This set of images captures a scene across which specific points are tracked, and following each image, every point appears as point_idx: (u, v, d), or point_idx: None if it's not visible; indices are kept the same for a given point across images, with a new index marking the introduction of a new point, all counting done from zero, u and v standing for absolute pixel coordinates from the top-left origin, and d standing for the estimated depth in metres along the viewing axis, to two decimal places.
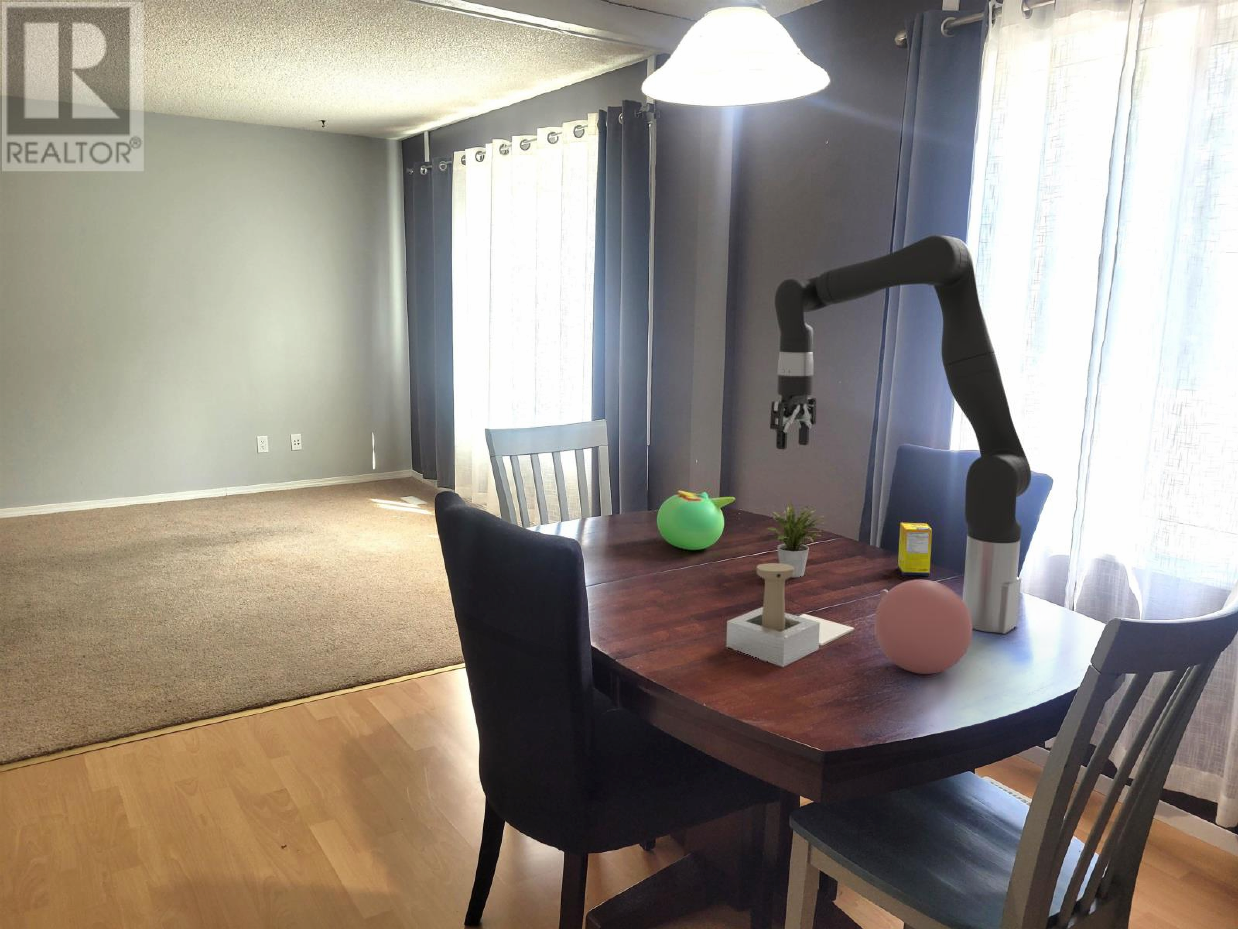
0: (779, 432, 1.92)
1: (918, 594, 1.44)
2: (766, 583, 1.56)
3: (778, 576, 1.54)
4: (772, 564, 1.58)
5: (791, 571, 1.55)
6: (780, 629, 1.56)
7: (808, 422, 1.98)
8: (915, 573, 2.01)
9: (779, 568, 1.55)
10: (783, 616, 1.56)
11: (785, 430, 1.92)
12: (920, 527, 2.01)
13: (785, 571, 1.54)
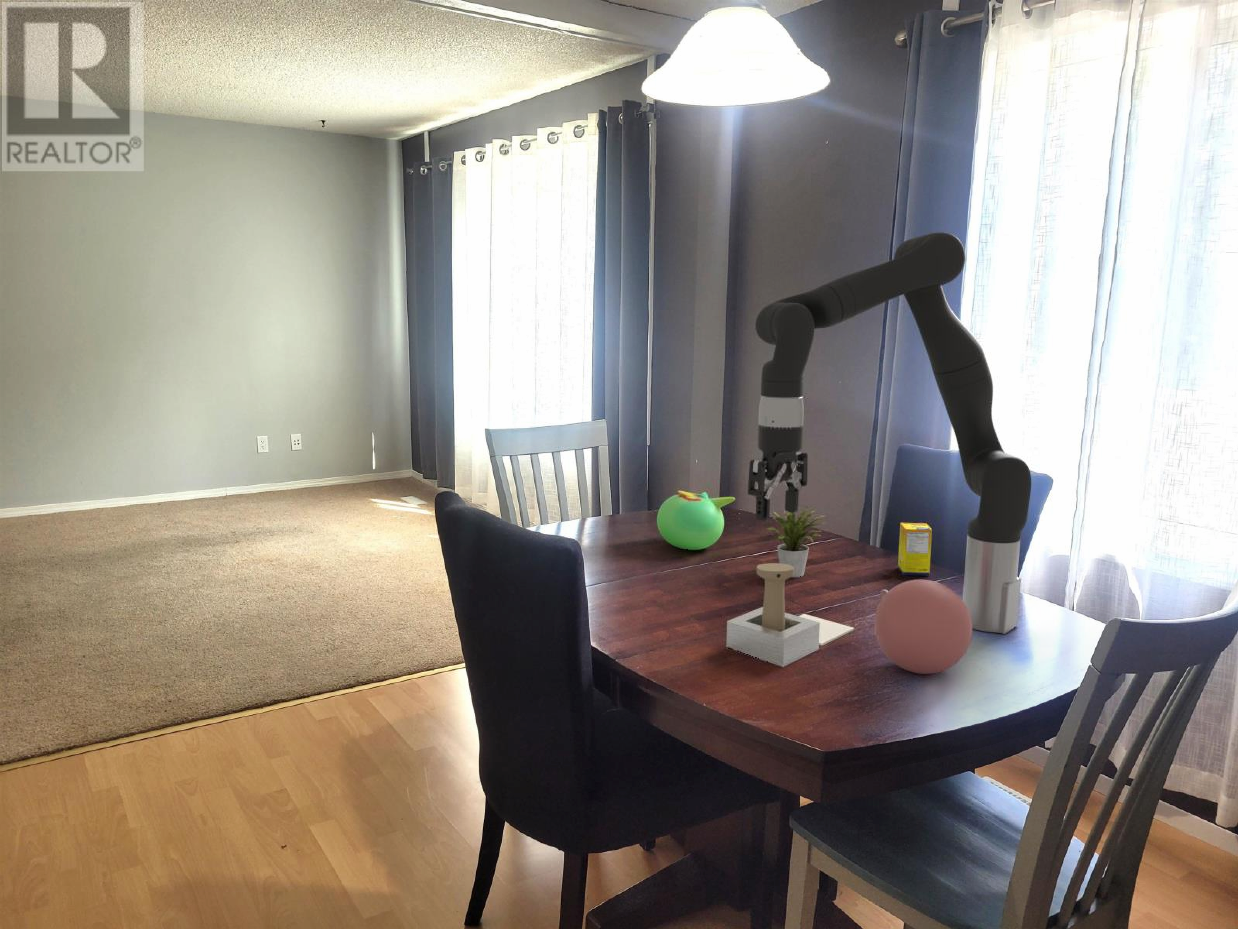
0: (760, 499, 1.50)
1: (918, 594, 1.44)
2: (766, 583, 1.56)
3: (778, 576, 1.54)
4: (772, 564, 1.58)
5: (791, 571, 1.55)
6: (780, 629, 1.56)
7: (797, 484, 1.56)
8: (915, 573, 2.01)
9: (779, 568, 1.55)
10: (783, 616, 1.56)
11: (767, 496, 1.49)
12: (920, 527, 2.01)
13: (785, 571, 1.54)
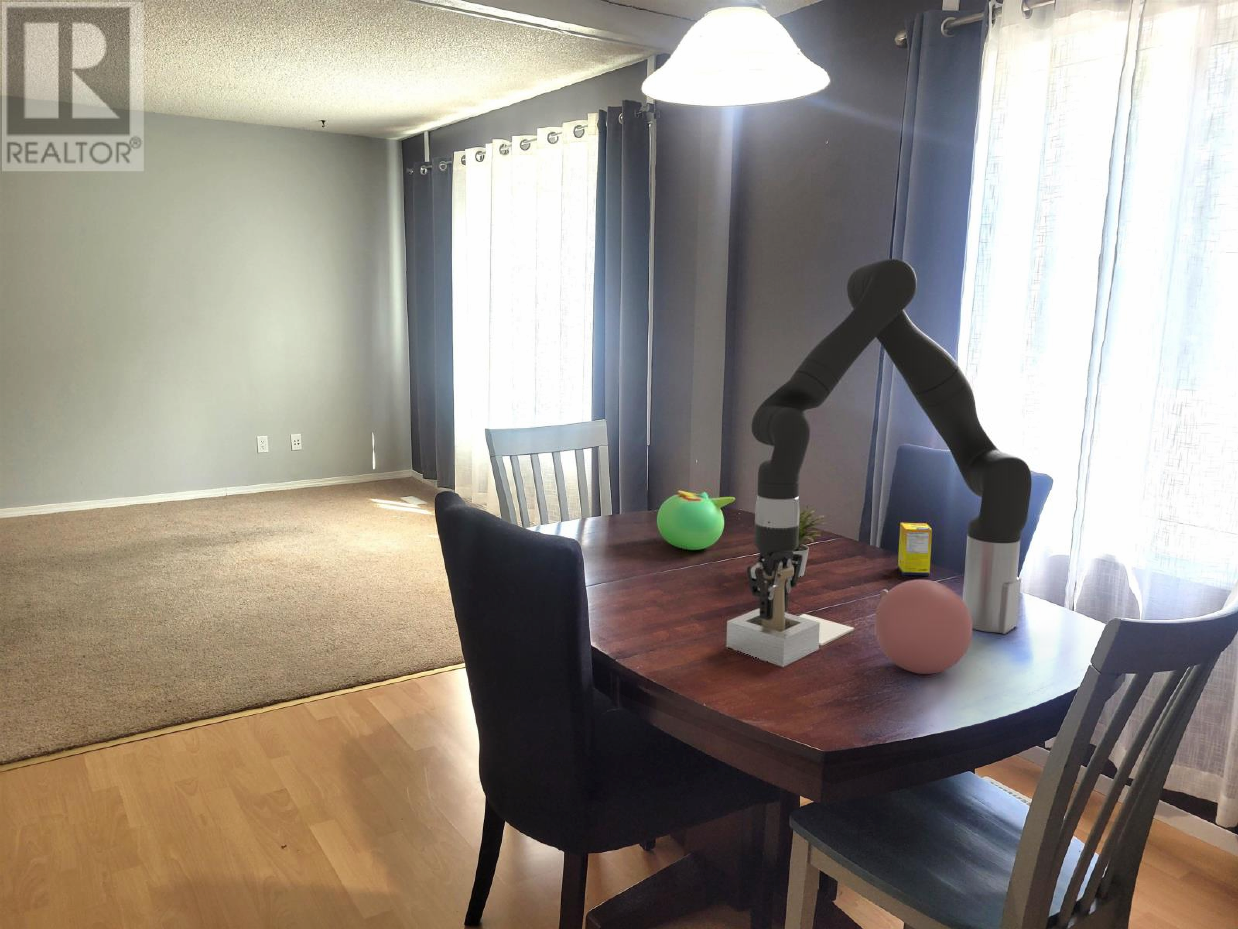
0: (763, 600, 1.55)
1: (918, 594, 1.44)
2: None
3: None
4: None
5: (791, 571, 1.55)
6: (780, 629, 1.56)
7: (786, 586, 1.57)
8: (915, 573, 2.01)
9: None
10: (783, 616, 1.56)
11: (770, 598, 1.54)
12: (920, 527, 2.01)
13: (785, 571, 1.54)
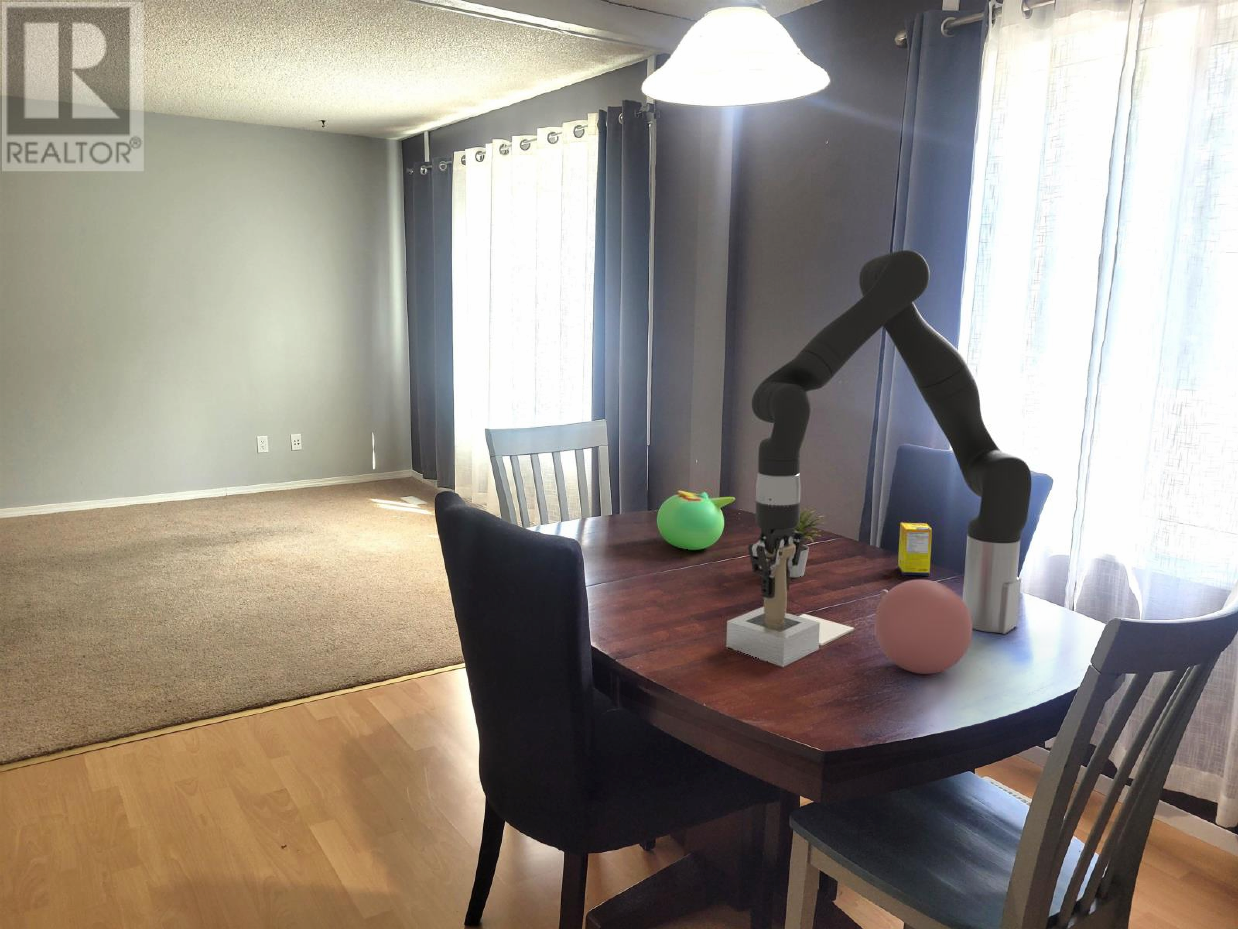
0: (765, 578, 1.54)
1: (917, 594, 1.44)
2: None
3: None
4: None
5: (793, 549, 1.54)
6: (782, 607, 1.56)
7: (788, 564, 1.57)
8: (915, 573, 2.01)
9: None
10: (785, 594, 1.56)
11: (772, 576, 1.53)
12: (920, 527, 2.01)
13: (787, 549, 1.53)
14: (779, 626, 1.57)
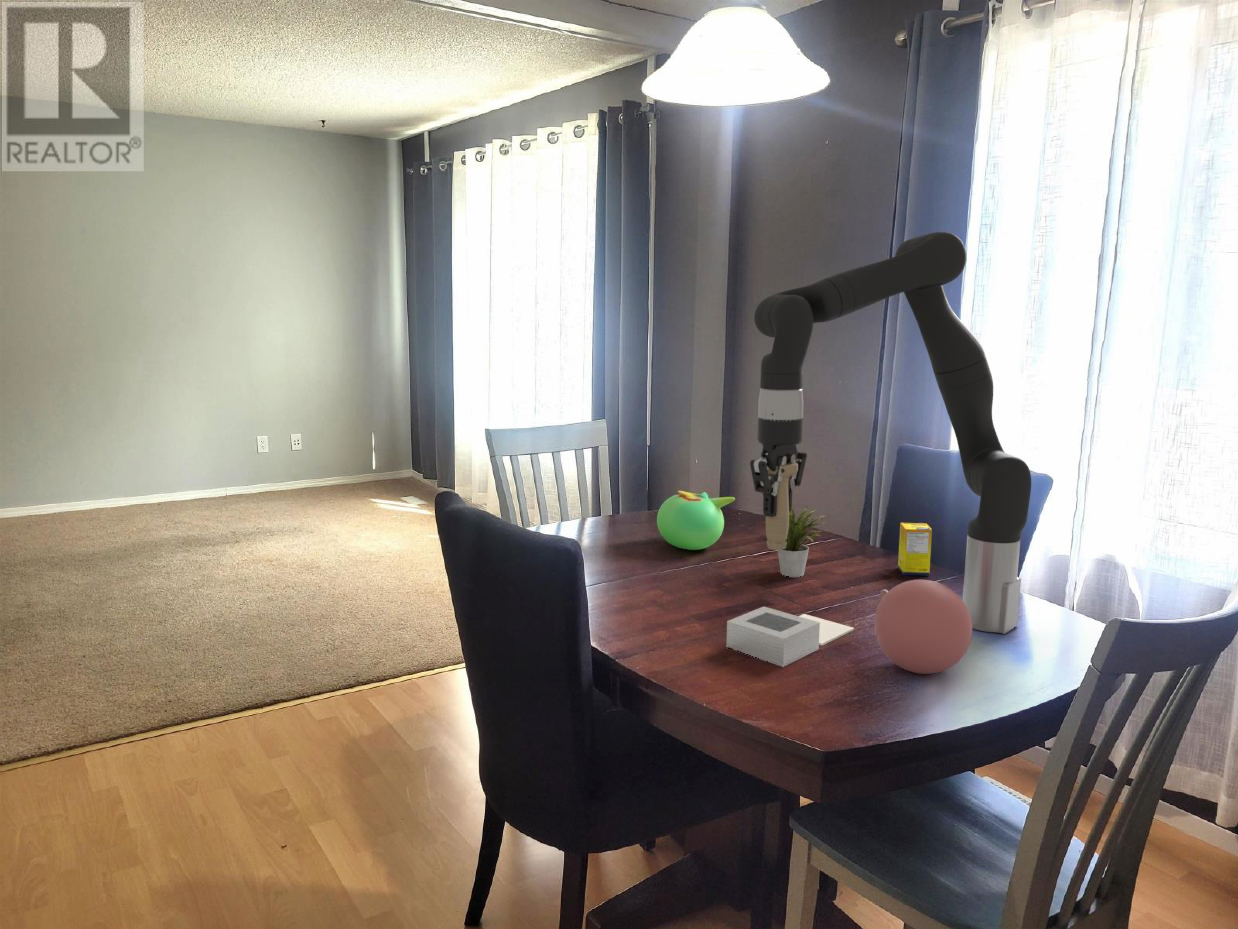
0: (767, 495, 1.51)
1: (918, 594, 1.44)
2: None
3: None
4: None
5: (795, 466, 1.51)
6: (784, 527, 1.53)
7: (790, 484, 1.54)
8: (915, 573, 2.01)
9: None
10: (787, 514, 1.53)
11: (774, 493, 1.51)
12: (920, 527, 2.01)
13: (789, 466, 1.51)
14: (781, 546, 1.54)
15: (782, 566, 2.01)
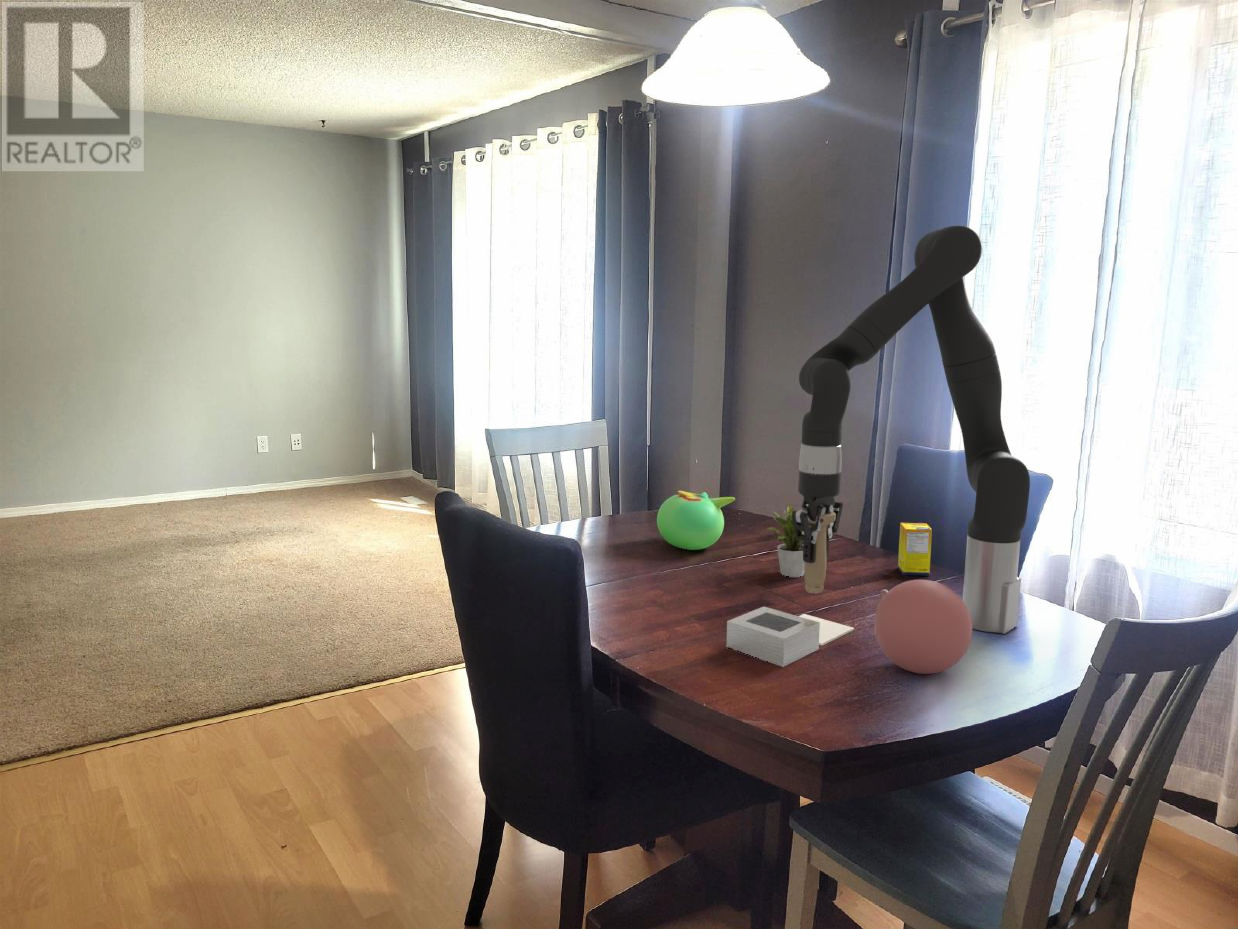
0: (807, 543, 1.62)
1: (918, 594, 1.44)
2: None
3: None
4: None
5: (833, 516, 1.62)
6: (822, 572, 1.64)
7: (828, 532, 1.65)
8: (915, 573, 2.01)
9: None
10: (825, 560, 1.64)
11: (814, 541, 1.62)
12: (920, 527, 2.01)
13: (827, 516, 1.62)
14: (819, 590, 1.65)
15: (782, 566, 2.01)
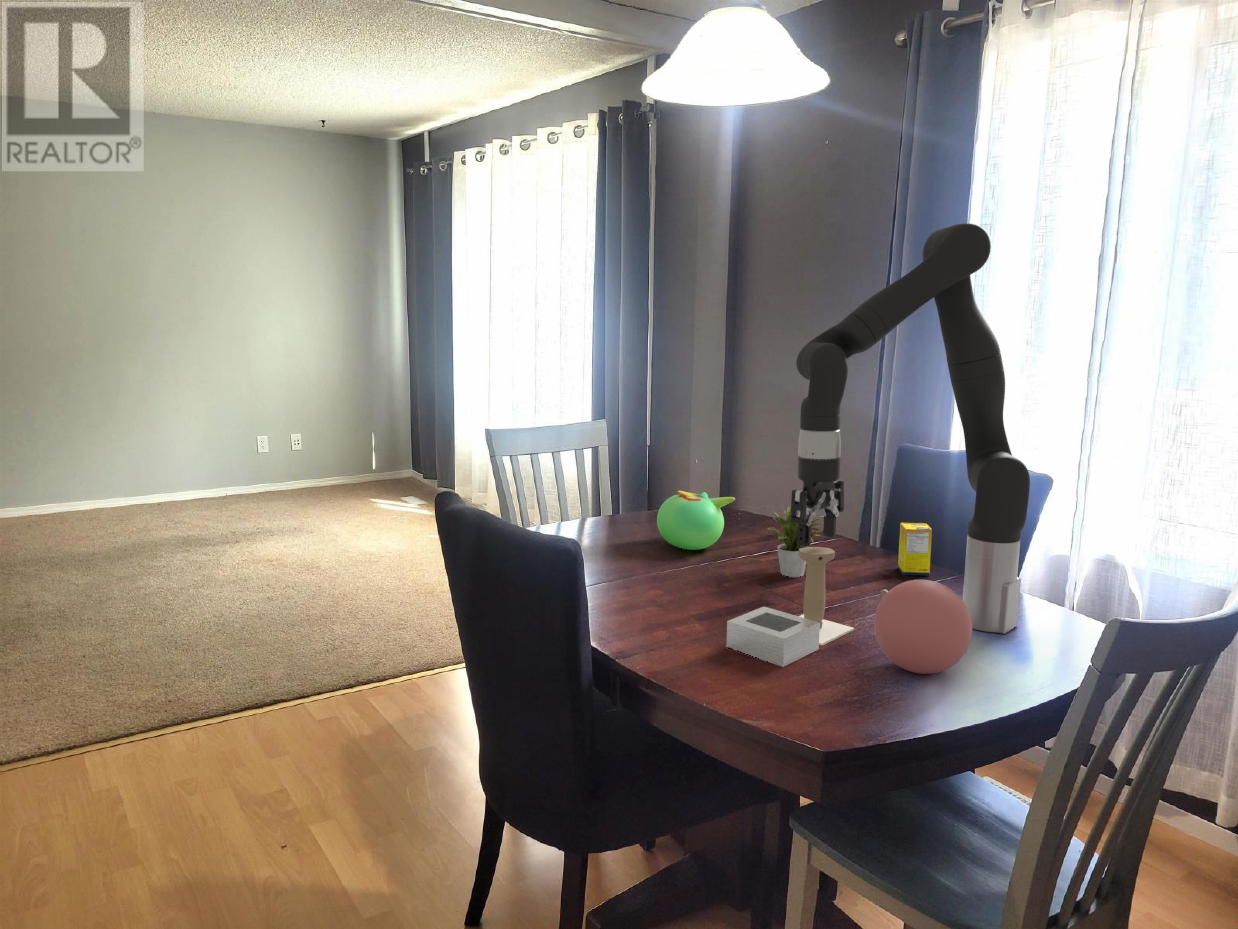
0: (801, 526, 1.60)
1: (918, 594, 1.44)
2: (808, 565, 1.65)
3: (820, 559, 1.63)
4: (813, 548, 1.67)
5: (832, 554, 1.64)
6: (821, 609, 1.65)
7: (835, 510, 1.66)
8: (915, 573, 2.01)
9: (820, 551, 1.64)
10: (824, 597, 1.65)
11: (809, 524, 1.60)
12: (920, 527, 2.01)
13: (826, 554, 1.63)
14: None
15: (782, 566, 2.01)
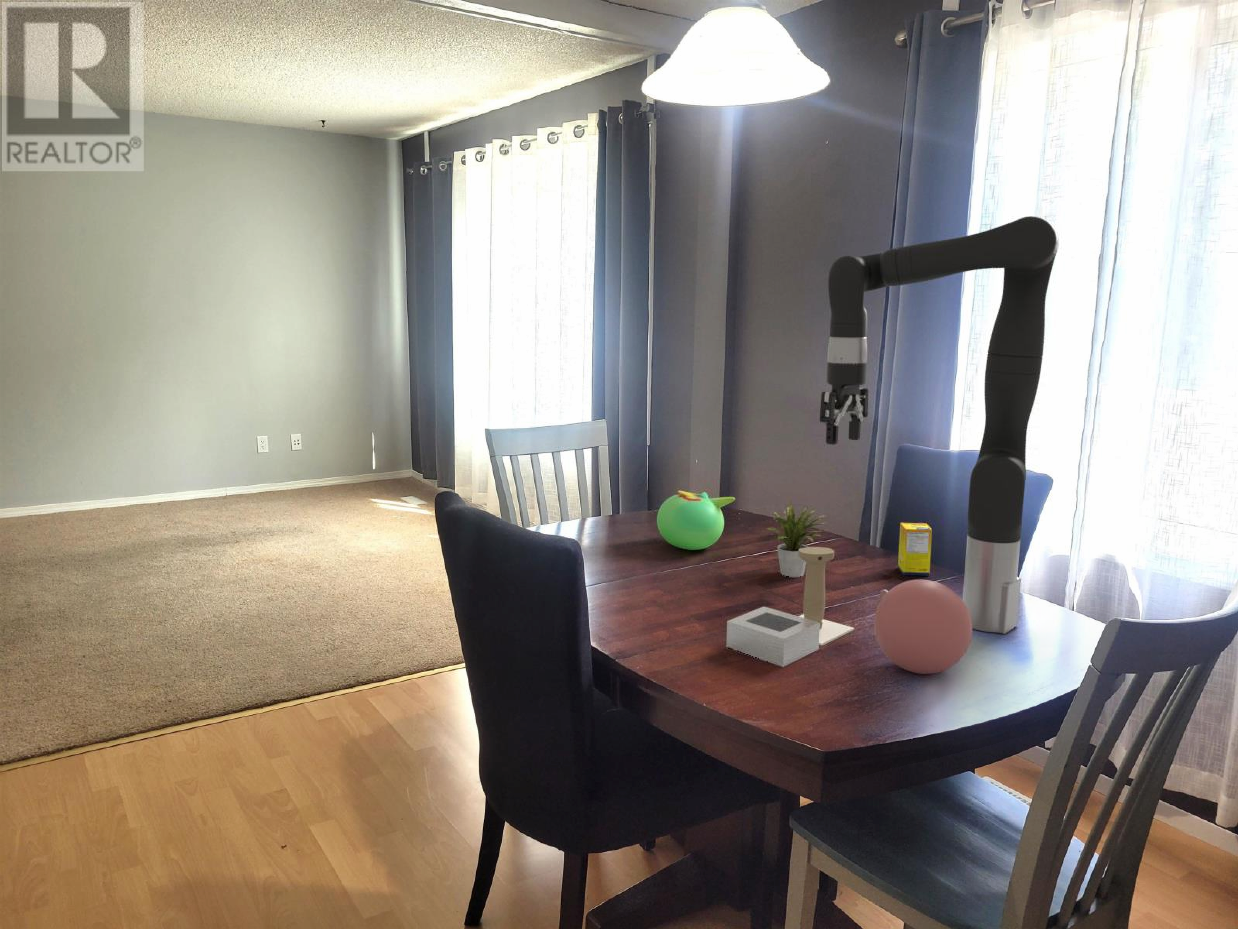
0: (829, 425, 1.74)
1: (917, 594, 1.44)
2: (808, 565, 1.65)
3: (819, 559, 1.63)
4: (813, 548, 1.67)
5: (832, 554, 1.64)
6: (821, 609, 1.65)
7: (860, 415, 1.80)
8: (915, 573, 2.01)
9: (820, 551, 1.64)
10: (824, 597, 1.66)
11: (836, 423, 1.74)
12: (920, 527, 2.01)
13: (826, 554, 1.63)
14: None
15: (782, 566, 2.01)
